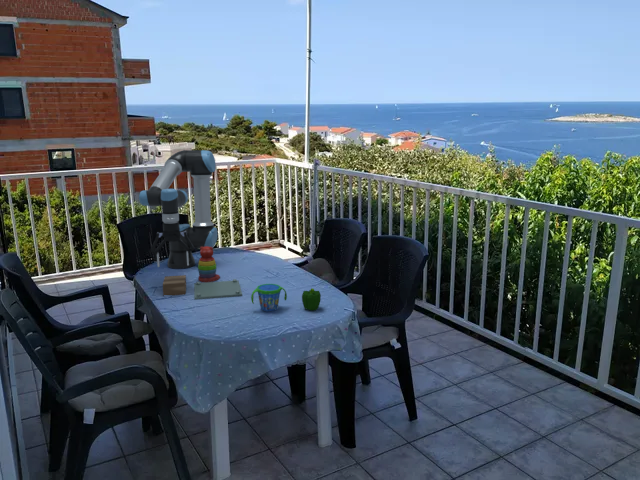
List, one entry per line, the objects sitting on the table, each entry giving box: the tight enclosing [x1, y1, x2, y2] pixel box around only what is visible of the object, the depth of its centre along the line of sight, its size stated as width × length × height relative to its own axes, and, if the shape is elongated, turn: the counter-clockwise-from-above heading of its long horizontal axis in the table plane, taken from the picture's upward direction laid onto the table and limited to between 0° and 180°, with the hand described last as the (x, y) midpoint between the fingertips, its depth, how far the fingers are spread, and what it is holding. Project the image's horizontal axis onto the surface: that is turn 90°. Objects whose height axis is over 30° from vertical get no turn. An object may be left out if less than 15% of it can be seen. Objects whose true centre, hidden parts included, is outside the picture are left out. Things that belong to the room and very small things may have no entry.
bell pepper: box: [301, 288, 322, 312], centre depth 228 cm, size 8×8×10 cm
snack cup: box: [250, 283, 288, 313], centre depth 228 cm, size 16×10×10 cm
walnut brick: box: [162, 274, 187, 297], centre depth 253 cm, size 13×10×6 cm
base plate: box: [193, 278, 243, 300], centre depth 254 cm, size 22×22×2 cm
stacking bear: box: [197, 246, 221, 283], centre depth 269 cm, size 11×10×18 cm
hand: (173, 265), depth 250 cm, fingers open, 13 cm apart
